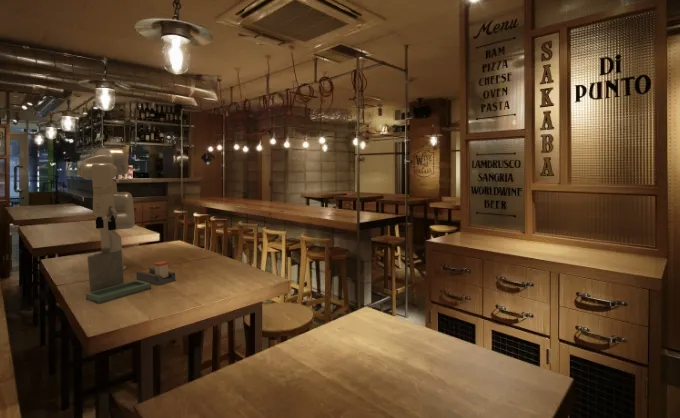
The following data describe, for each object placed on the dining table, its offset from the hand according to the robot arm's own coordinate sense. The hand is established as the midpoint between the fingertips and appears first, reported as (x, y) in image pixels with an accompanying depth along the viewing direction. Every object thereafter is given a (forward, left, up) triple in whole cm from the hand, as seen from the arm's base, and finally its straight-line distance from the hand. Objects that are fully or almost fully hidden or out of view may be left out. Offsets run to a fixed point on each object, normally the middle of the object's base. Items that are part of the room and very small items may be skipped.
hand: (106, 229), depth 181 cm
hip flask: (0, -1, -28) cm, 29 cm away
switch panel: (+4, +20, -28) cm, 35 cm away
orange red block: (+9, +20, -26) cm, 34 cm away
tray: (+9, -1, -28) cm, 30 cm away
